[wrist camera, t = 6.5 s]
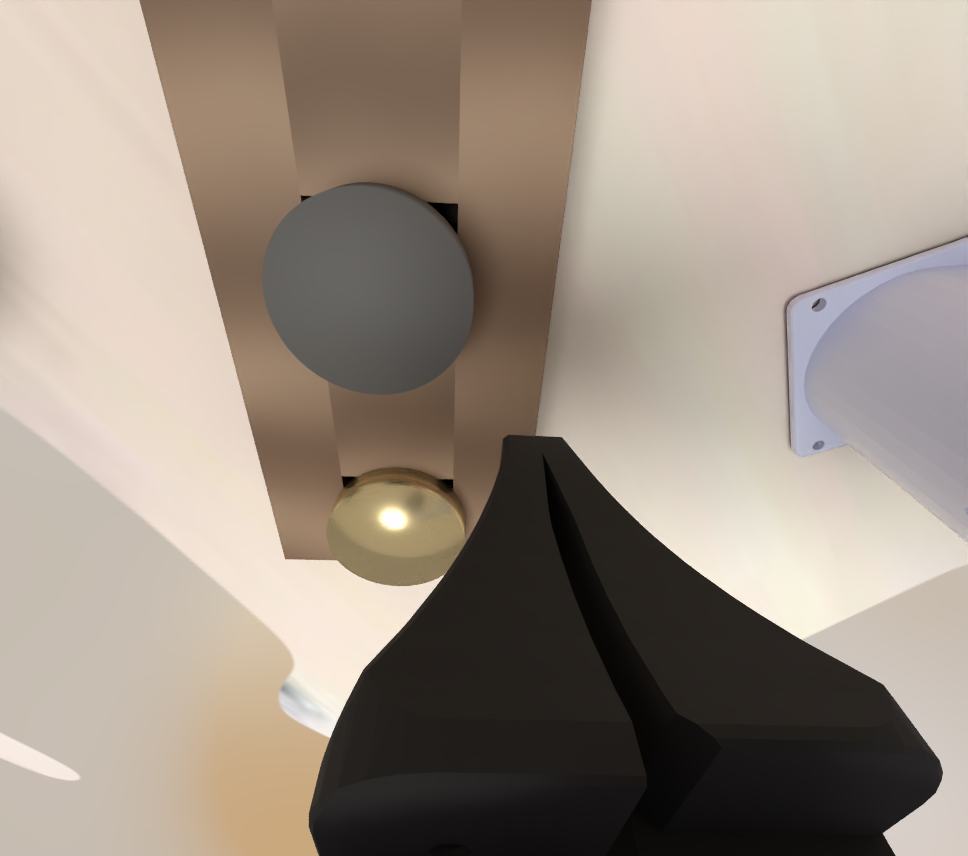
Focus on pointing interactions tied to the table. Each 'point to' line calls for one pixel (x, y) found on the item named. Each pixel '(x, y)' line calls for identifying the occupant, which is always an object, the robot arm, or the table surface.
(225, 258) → the control panel
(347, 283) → the middle black knob
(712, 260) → the table surface
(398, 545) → the brass knob
